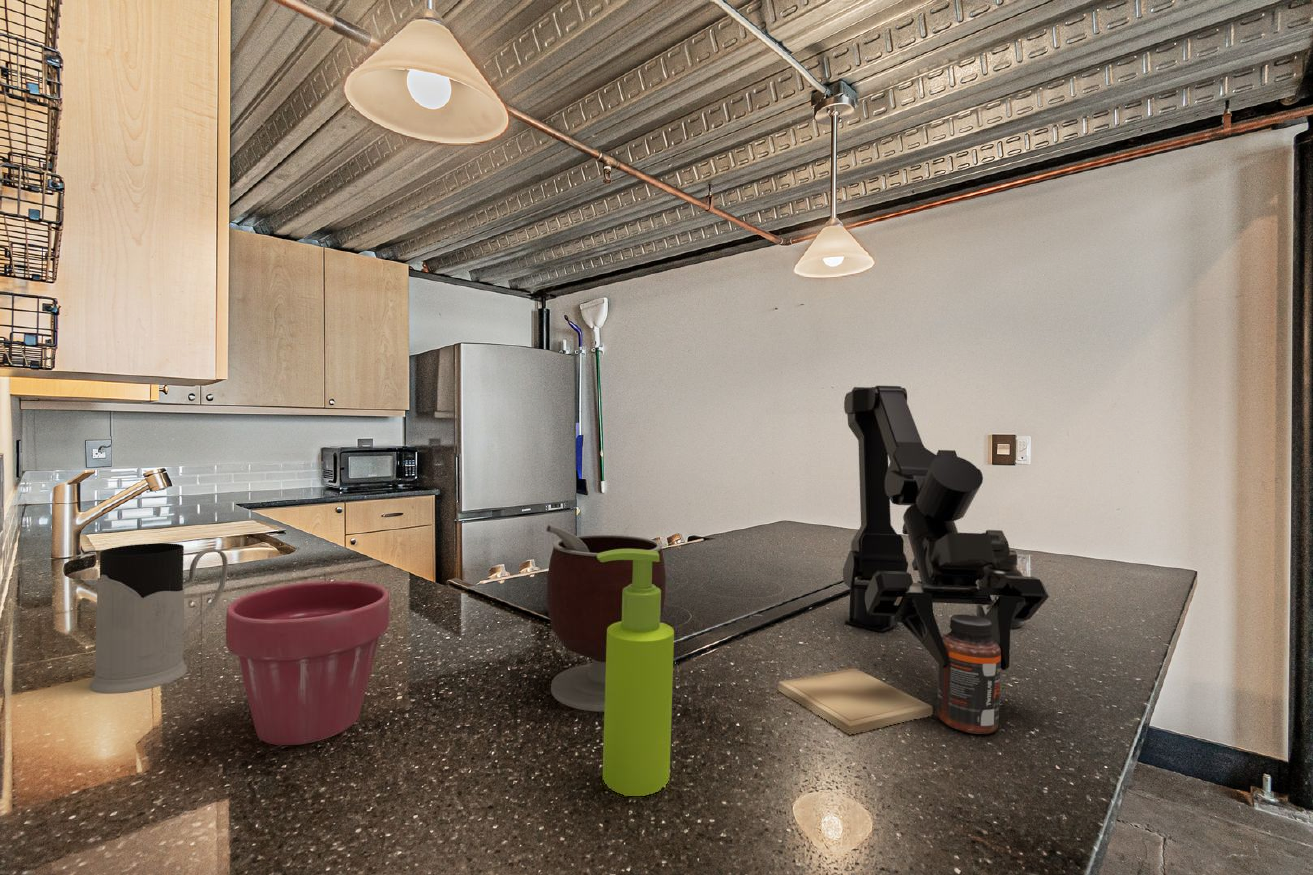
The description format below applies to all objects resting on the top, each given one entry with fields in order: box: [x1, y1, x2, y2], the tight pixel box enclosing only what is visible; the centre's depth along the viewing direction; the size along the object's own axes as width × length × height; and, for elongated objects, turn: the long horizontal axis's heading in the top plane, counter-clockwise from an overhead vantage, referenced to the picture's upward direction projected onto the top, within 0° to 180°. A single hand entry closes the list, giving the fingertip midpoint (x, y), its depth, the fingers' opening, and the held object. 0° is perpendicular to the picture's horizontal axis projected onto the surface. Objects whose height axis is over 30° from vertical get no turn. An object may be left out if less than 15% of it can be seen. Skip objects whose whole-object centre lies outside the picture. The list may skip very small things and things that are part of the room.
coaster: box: [777, 667, 934, 736], centre depth 71 cm, size 12×12×1 cm
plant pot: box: [225, 580, 390, 746], centre depth 62 cm, size 14×14×13 cm
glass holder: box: [88, 542, 229, 694], centre depth 75 cm, size 9×14×15 cm, turn 160°
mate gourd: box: [546, 524, 667, 712], centre depth 73 cm, size 16×14×20 cm
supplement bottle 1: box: [936, 614, 1002, 735], centre depth 67 cm, size 6×6×11 cm
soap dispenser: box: [597, 549, 675, 797], centre depth 54 cm, size 6×7×20 cm
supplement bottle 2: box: [975, 551, 1024, 630], centre depth 105 cm, size 7×7×12 cm
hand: (975, 667), depth 66 cm, fingers closed on supplement bottle 1, 6 cm apart
